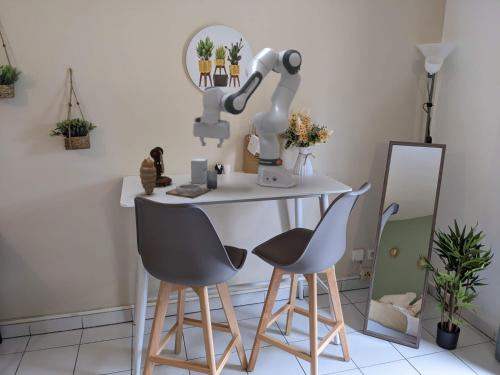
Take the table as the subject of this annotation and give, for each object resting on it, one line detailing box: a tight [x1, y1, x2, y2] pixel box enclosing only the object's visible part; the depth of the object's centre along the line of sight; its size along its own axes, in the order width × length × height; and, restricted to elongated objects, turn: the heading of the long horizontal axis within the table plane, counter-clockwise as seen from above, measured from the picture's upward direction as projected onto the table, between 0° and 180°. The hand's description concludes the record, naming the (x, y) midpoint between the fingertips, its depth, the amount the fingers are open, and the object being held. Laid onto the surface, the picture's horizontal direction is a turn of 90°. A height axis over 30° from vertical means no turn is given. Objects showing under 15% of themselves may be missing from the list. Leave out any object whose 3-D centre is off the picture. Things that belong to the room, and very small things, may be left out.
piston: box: [206, 169, 218, 190], centre depth 206 cm, size 6×6×9 cm
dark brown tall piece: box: [149, 146, 173, 188], centre depth 210 cm, size 15×15×20 cm
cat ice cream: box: [139, 156, 157, 195], centre depth 191 cm, size 9×8×18 cm
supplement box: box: [190, 158, 208, 185], centre depth 218 cm, size 7×7×13 cm
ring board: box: [165, 183, 212, 199], centre depth 197 cm, size 16×16×3 cm
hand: (211, 146), depth 202 cm, fingers open, 8 cm apart
